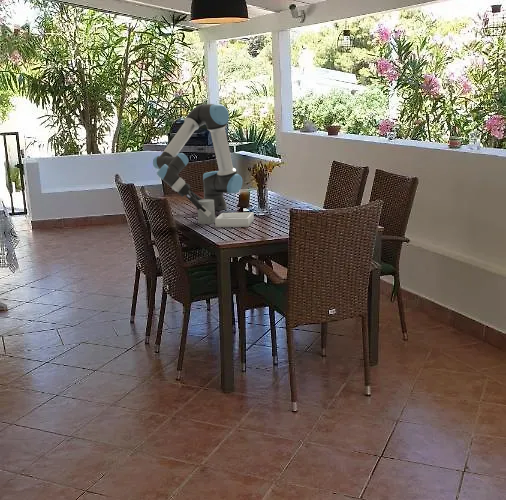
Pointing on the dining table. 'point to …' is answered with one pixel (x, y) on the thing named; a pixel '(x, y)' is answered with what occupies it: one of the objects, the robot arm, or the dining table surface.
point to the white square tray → (234, 219)
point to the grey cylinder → (209, 206)
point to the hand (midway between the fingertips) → (210, 213)
